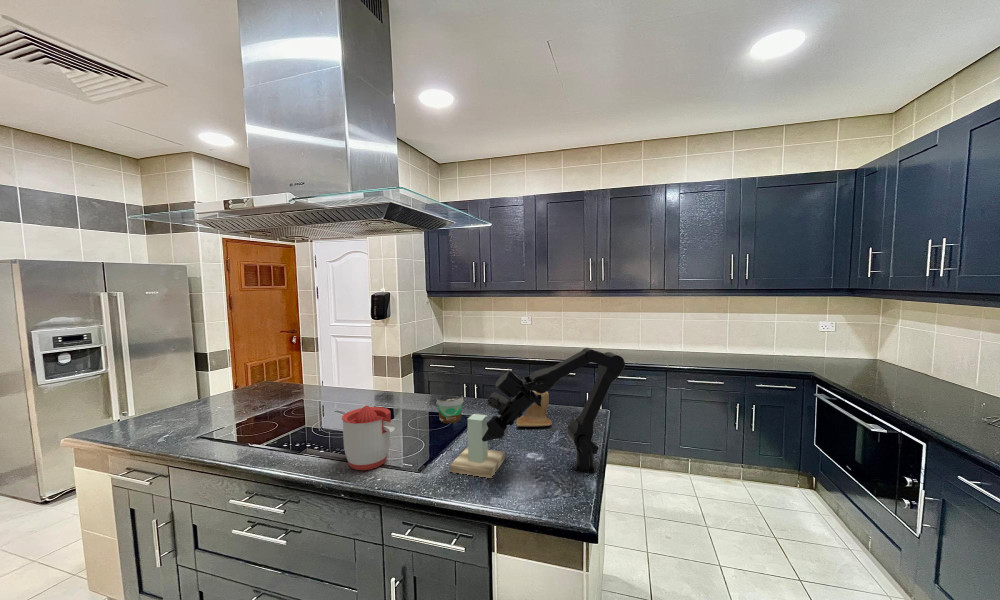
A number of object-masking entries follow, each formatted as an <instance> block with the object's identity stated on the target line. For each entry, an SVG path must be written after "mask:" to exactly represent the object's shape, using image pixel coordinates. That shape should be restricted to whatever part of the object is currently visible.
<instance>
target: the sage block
mask: <svg viewBox="0 0 1000 600" xmlns="http://www.w3.org/2000/svg"><path fill="white" fill-rule="evenodd" d="M487 422H488V415H486V414H479V413H473V414H471V415H470V416H469V417H467V447H468V461H473V462H480V463H483V462H484V460H485V459H486V458H487V457H488V450H489V448H488V447H489V446H488V444H489V443H488V442H489V441H485V442H483V441H482V438H483V436H484V435H485V433H486V431H487V430H488V426H487V424H486V423H487Z"/></svg>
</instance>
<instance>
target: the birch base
mask: <svg viewBox="0 0 1000 600" xmlns="http://www.w3.org/2000/svg"><path fill="white" fill-rule="evenodd" d="M505 455H506V452H505V451H501V450H500V451H499V450H492V449H488V457H487V458H486V459H485V460H484V462H483V463H480V462H473V461H468V446H467V447H465V449H464V450H463V451H462V452H461V453H460V454H459V455H458V456H457V457H456V458H455V459H454V460H453V461H452V462H451V463H450V465H449V473H450V472H453V473H452V474H456V473H459V474H458V475H462V474H467V475H466V476H468V475H473V476H472V477H474V476H479V477H478V478H480V477H486V478H485V479H487V478H493V477H494V476H495V474H496V473H497V472H498V470H499V468H500V467H501V466H502V464H503V462H505V459H506V456H505ZM495 472H496V473H495ZM493 475H494V476H493ZM492 476H493V477H492Z"/></svg>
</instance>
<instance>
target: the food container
mask: <svg viewBox="0 0 1000 600" xmlns="http://www.w3.org/2000/svg"><path fill="white" fill-rule="evenodd" d="M463 403H464V397H463V395H461V396H460V397H458V398H456V397H455V398H447V399H445V400H440V399H438V398H437V400H436V403H435V404H436V405H437V409H438V415H439V422H440V421H441V422H440V423H442V422H443V423H442V424H448V423H450V424H456V423H459V422H460V421H461V420H462V411H463V410H462V409H463ZM458 421H459V422H458ZM455 422H456V423H455Z"/></svg>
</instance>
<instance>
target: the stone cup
mask: <svg viewBox="0 0 1000 600" xmlns="http://www.w3.org/2000/svg"><path fill="white" fill-rule="evenodd" d="M532 391H533V392H534V393H536V394H538V395H541V396H542V399H541V407H540V406H538V405H537V404H536V403H534V404H533V405H532V406H531V407H530V408H529V409H528V410H527V411H526V412H525V415H522V416H521V417H520V418H518V419H517V420H516V423H515V424H516V427H523V428H525V427H527V428H530V427H532V428H533V427H535V428H536V427H548V426H552V424H553V422H552V420H551V419H550V418H549V417H547V409H548V407H549V402H550V393H549V392H548V391H547V392H545V393H542V394H540V393H537V392H536V391H534V390H532Z"/></svg>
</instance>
